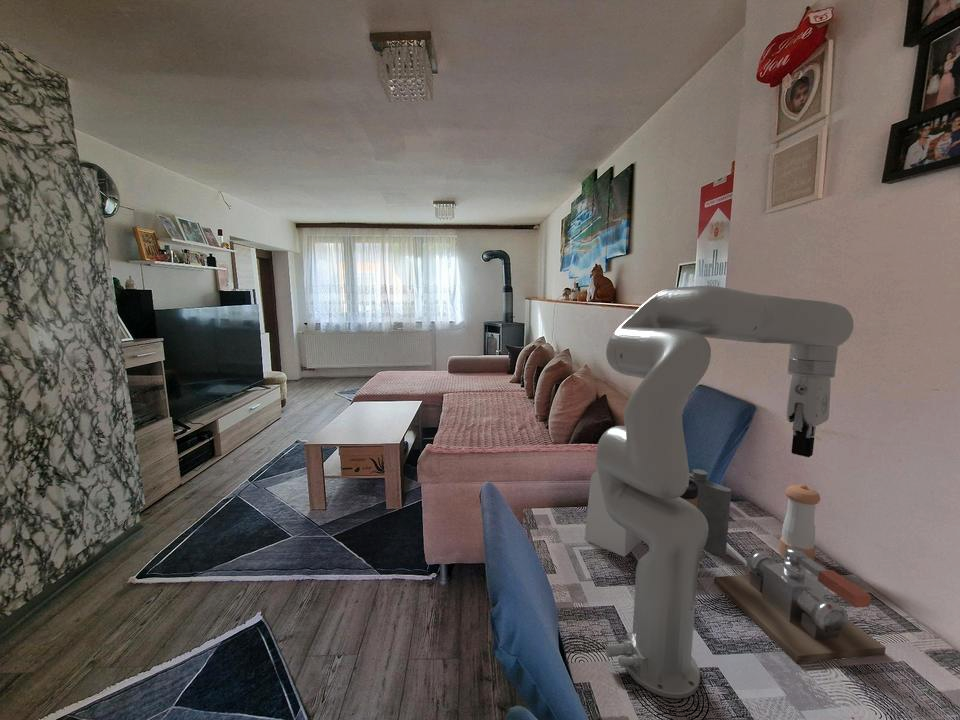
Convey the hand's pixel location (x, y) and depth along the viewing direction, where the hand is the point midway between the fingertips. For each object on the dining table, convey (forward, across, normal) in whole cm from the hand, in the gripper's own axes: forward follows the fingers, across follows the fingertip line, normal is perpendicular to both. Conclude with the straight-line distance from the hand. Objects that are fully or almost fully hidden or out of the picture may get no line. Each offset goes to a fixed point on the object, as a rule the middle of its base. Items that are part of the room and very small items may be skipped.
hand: (801, 454), depth 86 cm
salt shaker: (+33, +22, +4) cm, 40 cm away
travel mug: (+33, -4, +22) cm, 40 cm away
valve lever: (+21, -8, -7) cm, 24 cm away
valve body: (+32, -5, -2) cm, 32 cm away
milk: (+33, -10, +37) cm, 51 cm away
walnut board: (+33, -5, -2) cm, 33 cm away
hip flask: (+33, +8, +23) cm, 41 cm away
